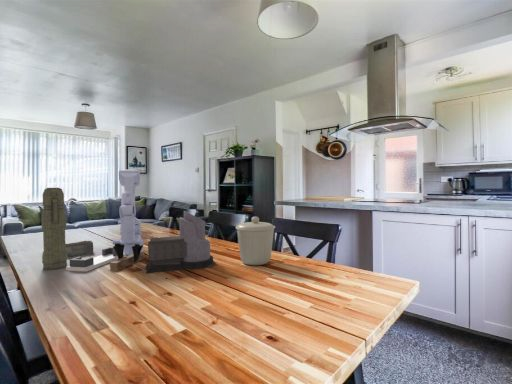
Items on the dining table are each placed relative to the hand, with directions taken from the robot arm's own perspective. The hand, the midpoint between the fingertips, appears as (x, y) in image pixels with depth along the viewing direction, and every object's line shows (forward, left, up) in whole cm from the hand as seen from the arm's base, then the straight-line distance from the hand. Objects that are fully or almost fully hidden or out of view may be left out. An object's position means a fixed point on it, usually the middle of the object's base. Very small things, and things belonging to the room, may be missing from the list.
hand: (128, 260), depth 129 cm
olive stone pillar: (+10, -29, -2) cm, 31 cm away
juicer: (-1, +26, -2) cm, 26 cm away
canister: (-11, +57, -2) cm, 58 cm away
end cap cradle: (+1, -15, -1) cm, 15 cm away
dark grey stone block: (-10, -40, -2) cm, 41 cm away
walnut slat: (0, 0, -2) cm, 2 cm away
